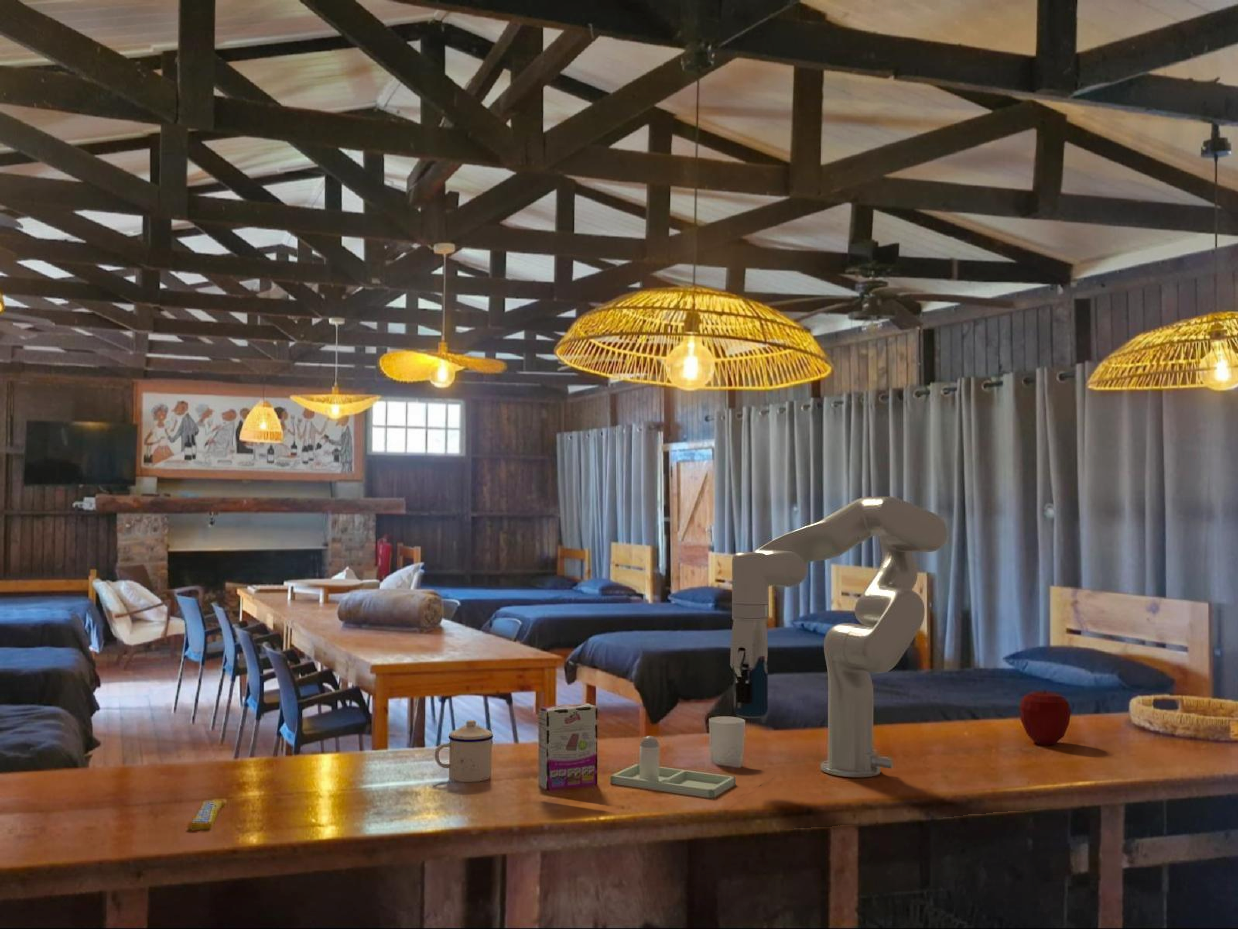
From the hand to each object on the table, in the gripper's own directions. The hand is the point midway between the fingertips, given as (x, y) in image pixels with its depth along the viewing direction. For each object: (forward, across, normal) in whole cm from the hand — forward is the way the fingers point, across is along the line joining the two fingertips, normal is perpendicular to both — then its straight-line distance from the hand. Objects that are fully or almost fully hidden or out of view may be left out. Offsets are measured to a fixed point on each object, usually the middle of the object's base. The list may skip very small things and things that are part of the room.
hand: (750, 699), depth 219 cm
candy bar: (+17, +71, -76) cm, 105 cm away
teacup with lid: (+17, +25, -53) cm, 61 cm away
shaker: (+16, +11, -18) cm, 26 cm away
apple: (+19, -75, +49) cm, 91 cm away
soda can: (+4, 0, 0) cm, 4 cm away
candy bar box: (+17, +22, -30) cm, 41 cm away
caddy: (+17, +11, -12) cm, 24 cm away
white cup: (+18, -13, -10) cm, 24 cm away
